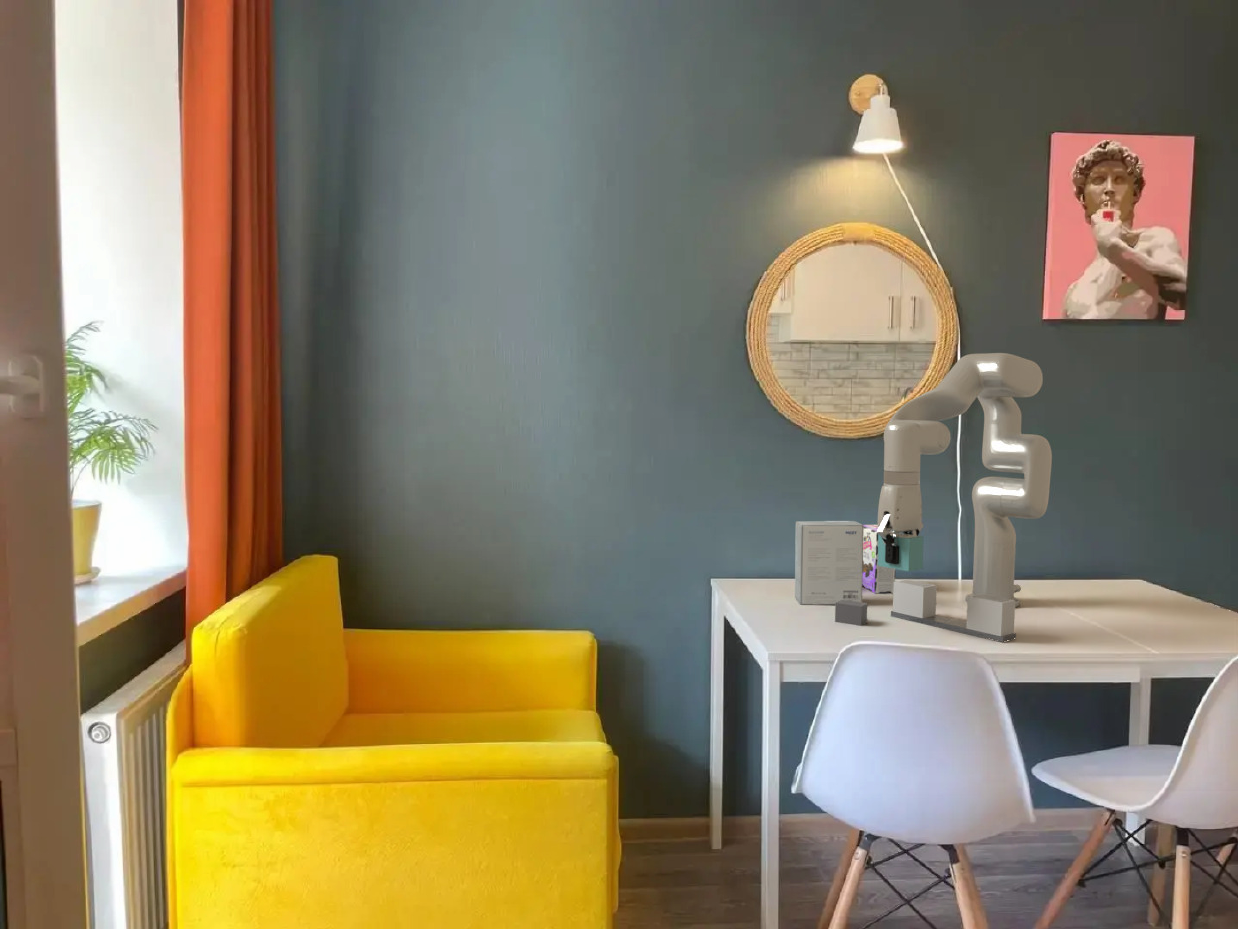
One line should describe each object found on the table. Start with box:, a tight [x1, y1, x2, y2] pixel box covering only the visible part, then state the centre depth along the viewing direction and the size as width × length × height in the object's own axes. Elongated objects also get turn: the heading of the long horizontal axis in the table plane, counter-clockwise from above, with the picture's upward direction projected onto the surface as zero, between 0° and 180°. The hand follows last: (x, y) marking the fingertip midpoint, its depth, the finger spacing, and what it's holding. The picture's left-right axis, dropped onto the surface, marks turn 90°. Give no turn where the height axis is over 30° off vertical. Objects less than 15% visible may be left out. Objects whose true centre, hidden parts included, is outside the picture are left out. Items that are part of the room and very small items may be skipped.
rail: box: [890, 610, 1017, 643], centre depth 203 cm, size 28×5×1 cm, turn 37°
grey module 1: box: [892, 579, 938, 618], centre depth 210 cm, size 8×5×7 cm, turn 37°
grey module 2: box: [966, 594, 1016, 636], centre depth 195 cm, size 8×5×7 cm, turn 37°
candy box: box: [862, 524, 897, 594], centre depth 244 cm, size 14×6×16 cm, turn 6°
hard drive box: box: [794, 520, 864, 606], centre depth 227 cm, size 16×8×20 cm, turn 90°
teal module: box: [878, 532, 924, 572], centre depth 200 cm, size 5×8×7 cm, turn 37°
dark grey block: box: [834, 600, 868, 627], centre depth 206 cm, size 4×6×4 cm, turn 57°
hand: (900, 560), depth 200 cm, fingers closed on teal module, 5 cm apart
